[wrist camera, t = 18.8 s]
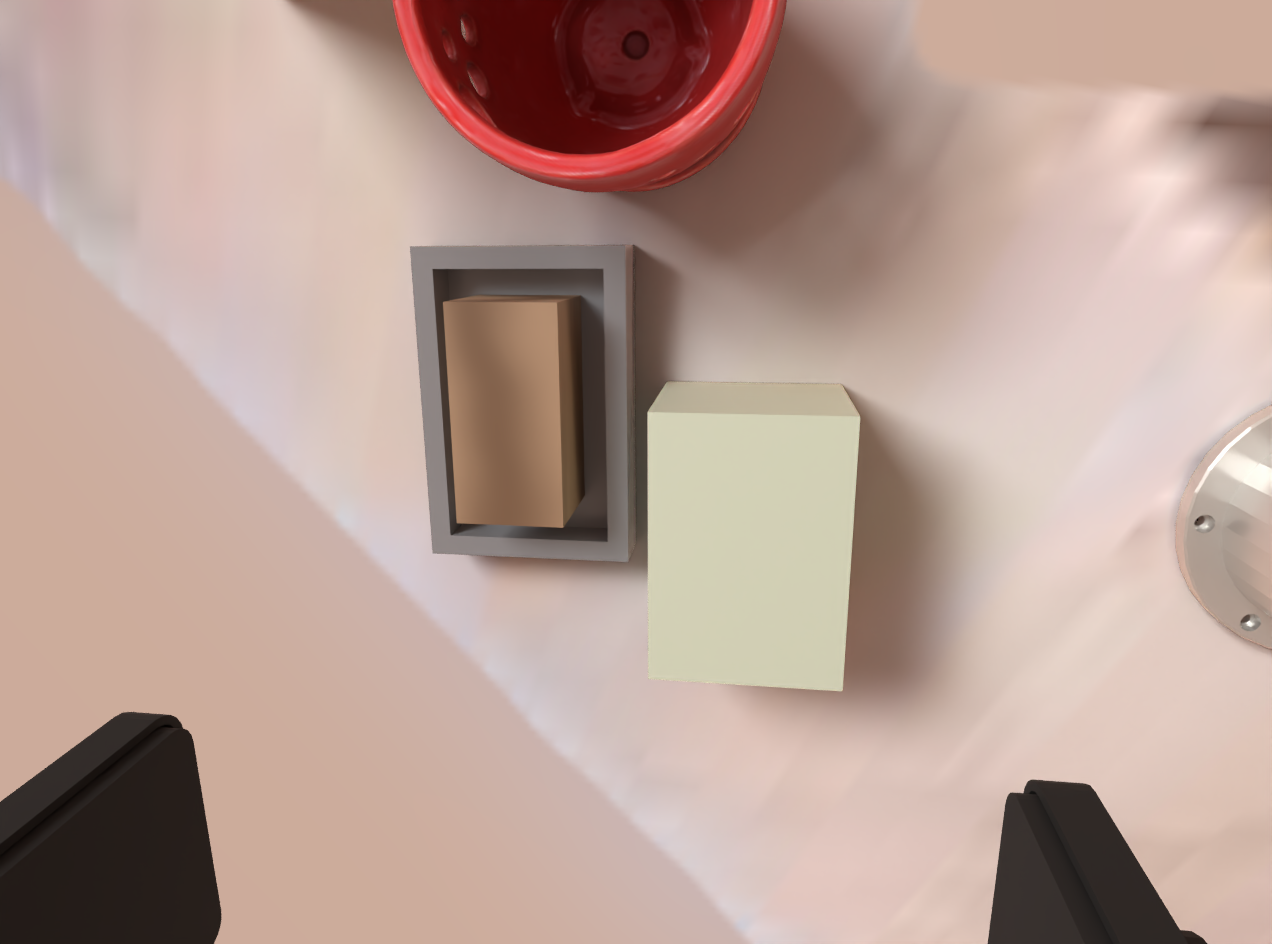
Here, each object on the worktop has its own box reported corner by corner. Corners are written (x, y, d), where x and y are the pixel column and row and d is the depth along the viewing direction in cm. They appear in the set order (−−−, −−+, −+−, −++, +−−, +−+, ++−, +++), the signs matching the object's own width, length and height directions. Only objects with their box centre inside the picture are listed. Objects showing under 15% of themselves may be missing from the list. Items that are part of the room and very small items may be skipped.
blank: (580, 295, 40) (557, 302, 36) (584, 495, 43) (563, 527, 38) (479, 294, 41) (442, 301, 36) (489, 492, 44) (457, 523, 39)
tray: (634, 245, 40) (625, 245, 37) (636, 542, 44) (628, 562, 41) (432, 246, 42) (410, 246, 39) (451, 535, 45) (432, 553, 43)
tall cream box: (841, 384, 41) (860, 416, 33) (828, 614, 44) (842, 691, 36) (667, 381, 42) (647, 412, 34) (666, 606, 45) (648, 678, 37)
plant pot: (841, -11, 36) (880, -127, 25) (675, 256, 40) (642, 262, 29) (585, -184, 36) (505, -383, 24) (442, 103, 40) (314, 47, 28)
